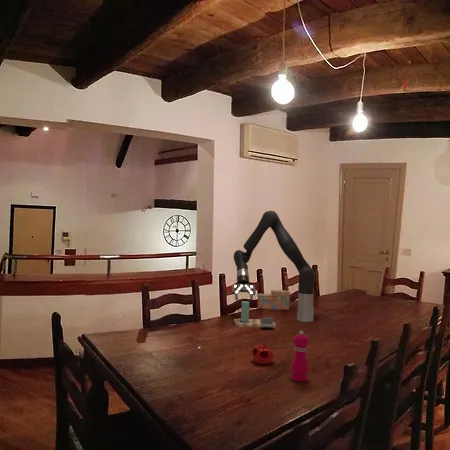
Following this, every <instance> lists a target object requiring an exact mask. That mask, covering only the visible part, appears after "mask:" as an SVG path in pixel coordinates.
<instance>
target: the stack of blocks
mask: <svg viewBox="0 0 450 450" xmlns="http://www.w3.org/2000/svg"><path fill="white" fill-rule="evenodd" d="M290 303H291V291H290V290H283V289H271V290H270V293H258V294H257V308H258V309H262V310H290ZM265 308H266V309H265Z"/></svg>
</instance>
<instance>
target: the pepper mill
mask: <svg viewBox="0 0 450 450" xmlns="http://www.w3.org/2000/svg"><path fill="white" fill-rule="evenodd" d="M293 344H294V350H295V353H294V358H293V360H292V362H291V364H290V371H291V372H292V373H291V380H292V381H294V380H295V381H294V382H298V381H304V382H306V381H308V375H307V374H308V373H309V364H308V361H307V359H306V352H307V350H308V344H309V338H308V337H307V335H305V333H304V331H303V330H300V331H299V334H296V335H295V336H294V337H293Z"/></svg>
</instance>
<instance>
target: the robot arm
mask: <svg viewBox="0 0 450 450" xmlns="http://www.w3.org/2000/svg"><path fill="white" fill-rule="evenodd" d="M269 228H270V229H271V230H272V232H273V234H274V236H275V238H276V241H277V243H278V245H279V247H280V249H281V250H282V252H283V253H284V254H285V256H286V257H287V258H288V259H289V260H290V261H291V262H292V263H293V265H294V267H295V268H296V270H297V272H298V286H297V287H298V288H297V289H298V295H297V296H298V297H297V311H296V313H297V316H296V320H297V321H298V322H304V323H310V322H314V307H315V306H314V290H315V289H314V285H315V284H314V283H315V275H316V274H315V271H314V269H313V268H312V267H311V265H310V264H309V262H307V261H306V259H305V257H304V256H303V253H302V252H301V250H300V248H299V247H298V245H297V243H296V242H295V241H294V239H293V237H292V236H291V235H290V233H289V232H288V231H287V229H286V228H285V227H284V224H283V223H282V220H281V219H280V217H279V214H277V212H275V210H274V211H273V210H268V211H267V210H266V211H265V212H264V213H263V214H262V216H261V218H260V221H259V222H258V224H257V226H256V228H255V229H254V230H253V232H252V233H251V234H250V235H249V237H248V238H247V240H246V241H245V242H244V244H243V249H244V250H245V251H242V250H241V249H237V250H235V251H234V254H233V260H234V263H235V266H236V284H234V283H233V284H232V285H231V286H232V287H231V295H234V298H235V300H236V301H238V300H239V299H238V296H239V295H238V294H240V293H247V294H248V295H249V297H250V298H249V300H250V301H251V302H252V301H253V300H254V296H255V295H256V293H257V292H256V285H255V284H252V285H251V284H250V277H249V274H250V273H249V266H248V264H247V263H249V262H250V259H251V257H252V254H253V252H254V250H255V249H256V248H257V246H258V245H259V244H260V241H261V240H262V238H263V236H264V234H265V233H266V232H267V230H269ZM235 289H236V290H235Z"/></svg>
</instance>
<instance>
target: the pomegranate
mask: <svg viewBox="0 0 450 450" xmlns="http://www.w3.org/2000/svg"><path fill="white" fill-rule="evenodd" d="M269 346H272V345H271V344H268V345H266V341H263V343H262V345H261V344H260V343H259V344H257V345H256V346H255V347H253V348H252V351H251V356H252V361H253V362H254V363H256V364H259V365H270V364H271V363H272V362H273V361H274V358H275V353H274V351H273V350H272V349H271V347H269Z"/></svg>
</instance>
